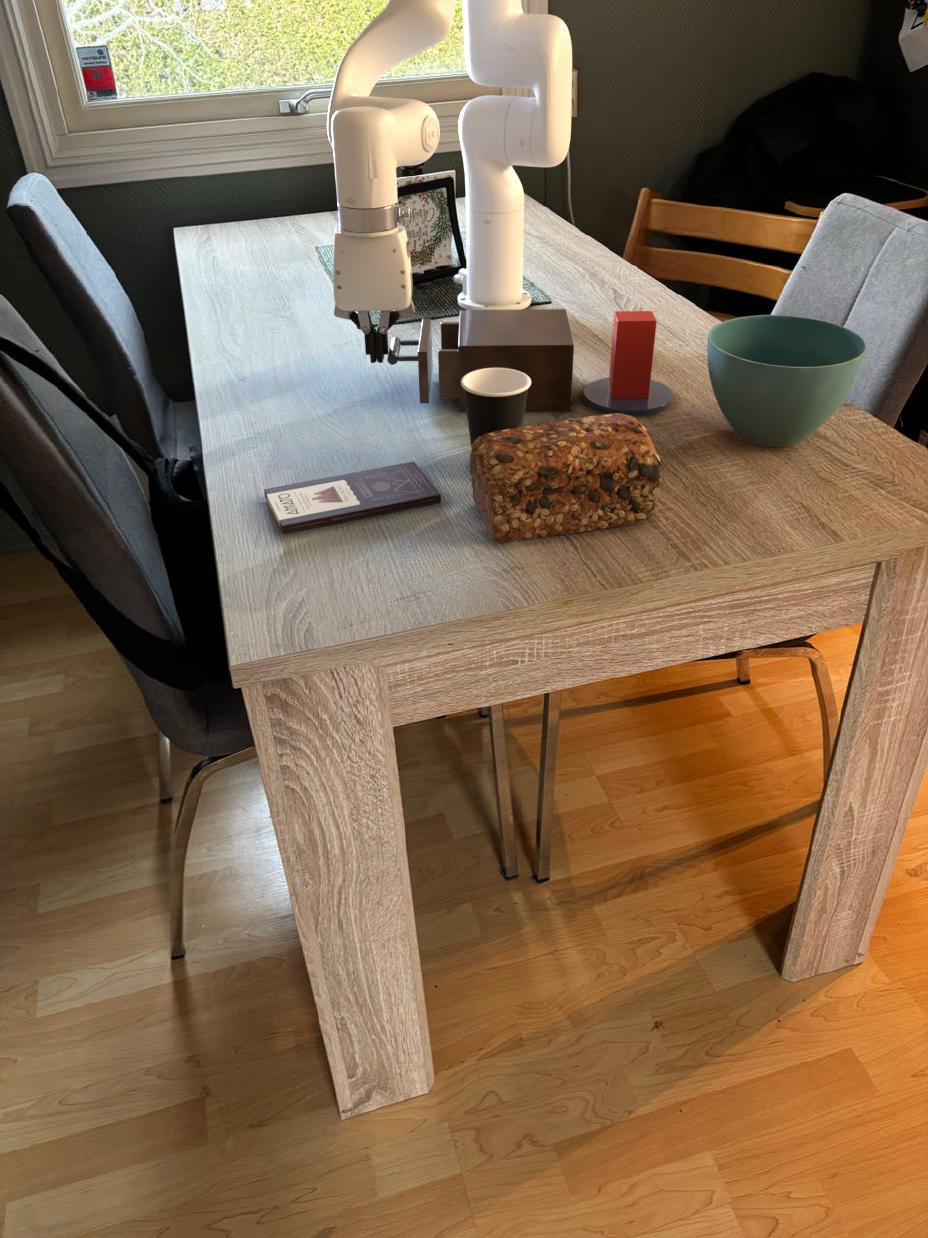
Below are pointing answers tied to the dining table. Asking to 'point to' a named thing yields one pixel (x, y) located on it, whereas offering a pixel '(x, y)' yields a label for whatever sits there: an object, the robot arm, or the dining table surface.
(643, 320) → the red rectangular block
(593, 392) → the plate
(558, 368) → the cabinet
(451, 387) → the drawer
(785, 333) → the green bowl
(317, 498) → the chocolate bar
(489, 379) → the dixie cup
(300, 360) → the dining table surface
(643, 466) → the bread
